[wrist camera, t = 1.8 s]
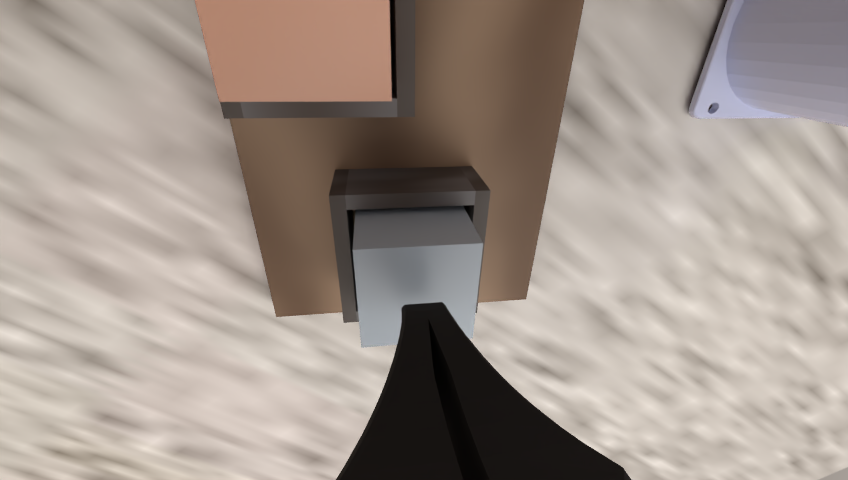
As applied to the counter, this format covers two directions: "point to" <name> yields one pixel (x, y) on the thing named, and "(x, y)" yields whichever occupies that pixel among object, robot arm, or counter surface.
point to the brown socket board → (415, 147)
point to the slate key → (414, 267)
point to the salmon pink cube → (298, 49)
